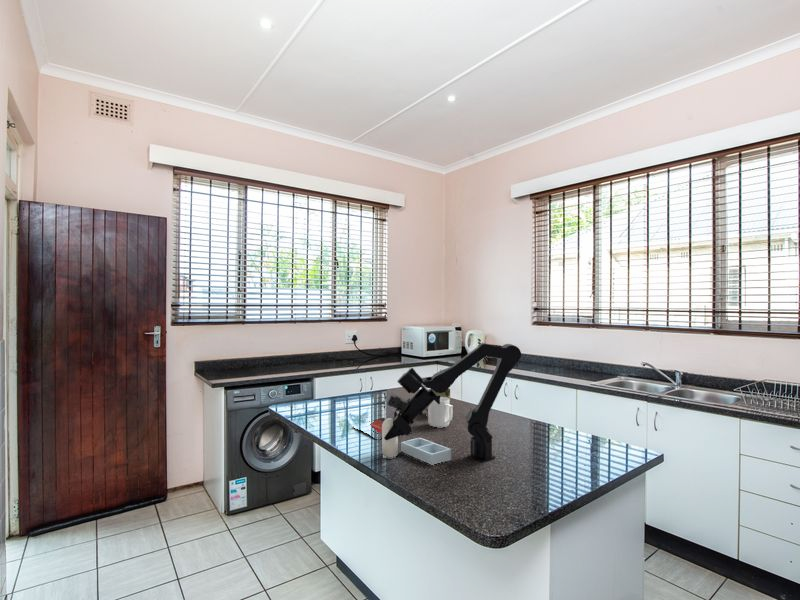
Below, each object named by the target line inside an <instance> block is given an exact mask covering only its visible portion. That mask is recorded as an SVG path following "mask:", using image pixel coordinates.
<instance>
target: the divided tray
mask: <svg viewBox="0 0 800 600" xmlns="http://www.w3.org/2000/svg"><path fill="white" fill-rule="evenodd" d="M401 451H403V452H405V453H407V454H409V455H411V456H413V457H415V458H418V459H420V460H422V461H424V462H427V463H429V464H431V465H433V466H435V465H434V464H437V463H440V464H442V463H441V462H443V463H446V462H449V461H452V448H449V447H446V446H444V445H441V444H438V443H435V442H433V441H431V440H427V439H424V438H423V437H416V438H413V439H412V438H411V439H408V440H404V441H401V442H400V452H401ZM415 458H414V459H415ZM422 461H421V462H422ZM445 461H446V462H445ZM424 462H423V463H424ZM429 464H428V465H429ZM431 465H430V466H431ZM437 465H438V464H437Z"/></svg>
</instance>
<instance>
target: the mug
mask: <svg viewBox="0 0 800 600" xmlns="http://www.w3.org/2000/svg"><path fill="white" fill-rule="evenodd" d="M449 407H450V417H449ZM453 409H454V406H453V405H452V404H450V403H449V398H446V397H440V404H438V403H437V402H436V401H435V400H434V401H433V402H432V403H431V404H430V405H429V406H428V417H427V424H428V425H429V426H430V427H431V426H433V427H432V428H434V427H437V428H436V429H444V428H443V427H445V428H447V427H448V426H449V424H450V422H451V421H452V420H453V416H454V414H453V412H454V411H453Z"/></svg>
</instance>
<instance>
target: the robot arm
mask: <svg viewBox="0 0 800 600" xmlns="http://www.w3.org/2000/svg"><path fill="white" fill-rule="evenodd" d="M485 357H493V358H496V359H497V360H496V365H495V369H494V371H493V373H492V375H491V377H490V379H489V381H488V383H487V384H486V385H487V386H486V387H485V389H484V391H483V393H482V396H481V398H480V399H479V401H478V403H477V404H476V406H475V407H474V408H473V407H472V406H470V407H469V408H468V409H469V410H468V413H467V414H466V416H465V417H464V419H465V426H466V429H467V431H468V433H469V434H470V435H471V438H470V454H468V455H467V457H468V458H470V459H473V460H476V461H478V462H481V463H484V462H487V461H490V460H493V459H495V458H496V456H495V455H494V454H493V436H492V433H491V432H490V430H489V428H488V427H487V425H488V422H489V416H490V415H489V414H490V411H491V409H492V407H493V405H494V403H495V401H496V399H497V398H498V395H499V393H500V390H501V388H502V386H503V384H504V382H505V380H506V378H507V376H508V374H509V373H510V372H511V371H512V370H513V369H514V368H515V367H516V365H517V364H518V363H519V361H520V359H521V358H522V352H521V350H520V348H519V347H518V346H516V345H515V344H511V343H505V344H503V345H500V344H490V343H485V342H481V343H480V344H479V345H478V346H476V347H475V348H474V349H473V350H471V351H470V352H468V353H467V354H466V355H465V356H463V357H462V358H460V359H459V360H458V361H457V362H454V363H453V364H452V365H451V366H449V367H447V368H445V369H442V370H440V371H438V372H436V373H434V374H432V376H425V377H422V376H421V375H419V373H418V372H417V371H416V369H415V368H413V367H411V368H410V369H407V371H406V372H404V373H403V374H402V375H401V376H400V377H399V378H398V380H397V381H396V382H397V383H398V384H399V385H400V386H401V387H402V388H403V389H404V390H405V391H406V393H408V394H414V395H413V396H412V397H410V398H407V399H404V398H403V397H402V396H399V395H397V394H396V393H395V394H394V393H391V394H390V397H389V398H388V401H387V404H386V405H387V406H389V407H392V408H395V410H394V413H393V416H394V417H393V418H392V419H393V426H392V427H391V429H390V430H389V431H388V433H387V434H386V436H385V437H384V439H385V440H389V439H391V438H394V437H397V436H398V437H401V436H403V435H406V436H409V435H410V434H411V433H412V432H411V431H413V430H412V428H413V427H412V425H413V424H414V423H415V421H416V419H417V418H418V417H419V416H422V415H424V414H423V413H424V411H425V409H426V408H427V407H428V406H429V405H430V404H431V403H432V402H433V401H434V400H435V401H436V402H437V403H438V404H440V397H441V396H440V394H439V395H437V394H435V393H434V392H433V391H432V390H431V389H433V390H434V391H435V392H437V393H443V392H445V391H446V390H447V389H448V388H449V389H450V387H451V386H452V385H453V384H454V382H455V381H456V380H457V379H458V378H459V377H460V376H461V375H462V374H464V373H466V372H467V371H468V370H469V369H471V368H473V367H474V366H475V365H476V364H477V363H479V362H480V361H482V360H483V359H484V358H485ZM415 393H416V394H415ZM410 432H411V433H410ZM400 435H401V436H400Z"/></svg>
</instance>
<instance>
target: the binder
mask: <svg viewBox="0 0 800 600" xmlns="http://www.w3.org/2000/svg"><path fill="white" fill-rule="evenodd" d="M386 419H387V418H385V417H381V418H378V419H374V420H373V421H374V422H373V423H371V424H370V425H371V426H372V428H374V429H375V430H377V432H380V433H382V424H383V422H384V420H386ZM412 431H413V430H412ZM412 431H411V433H412ZM373 432H374V431H373ZM375 433H376V432H375ZM377 434H378V433H377Z"/></svg>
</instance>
